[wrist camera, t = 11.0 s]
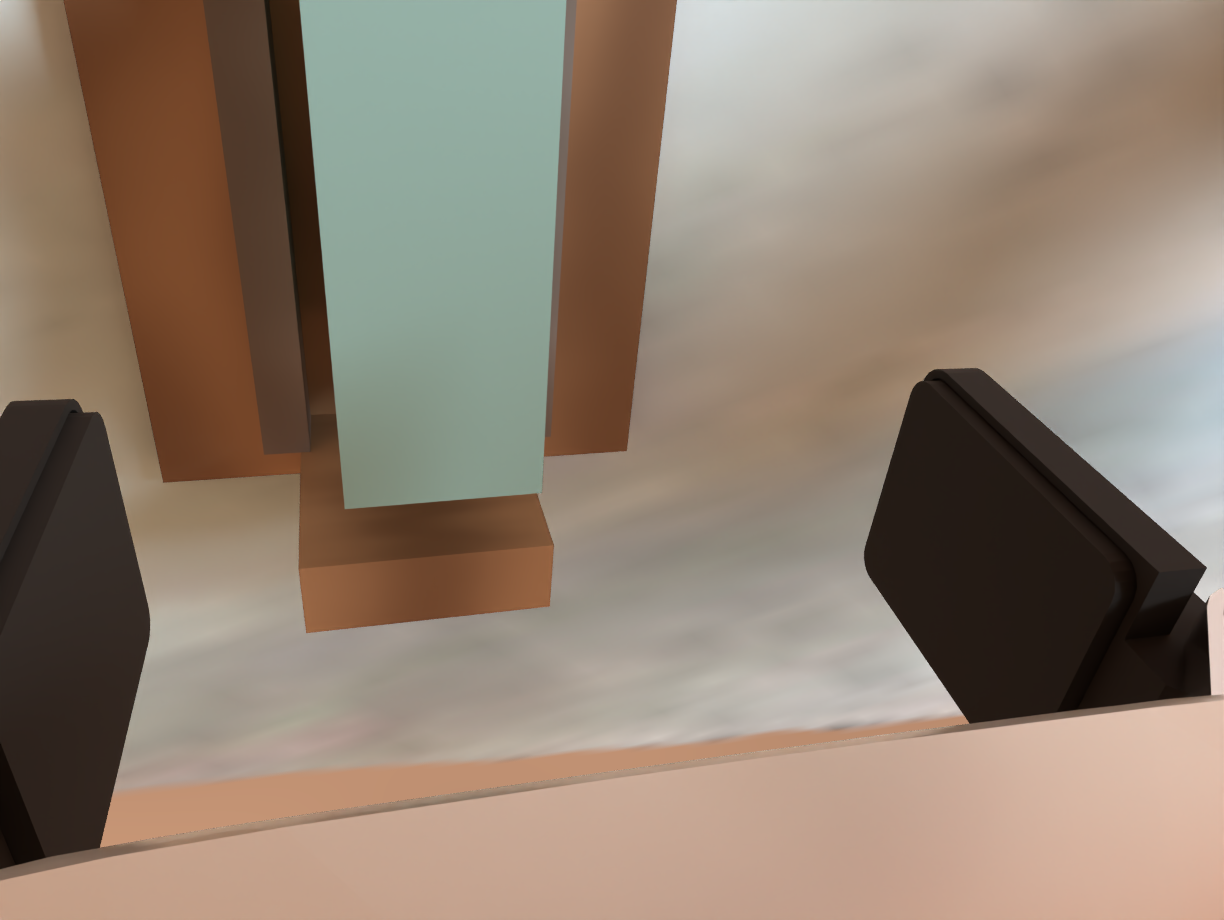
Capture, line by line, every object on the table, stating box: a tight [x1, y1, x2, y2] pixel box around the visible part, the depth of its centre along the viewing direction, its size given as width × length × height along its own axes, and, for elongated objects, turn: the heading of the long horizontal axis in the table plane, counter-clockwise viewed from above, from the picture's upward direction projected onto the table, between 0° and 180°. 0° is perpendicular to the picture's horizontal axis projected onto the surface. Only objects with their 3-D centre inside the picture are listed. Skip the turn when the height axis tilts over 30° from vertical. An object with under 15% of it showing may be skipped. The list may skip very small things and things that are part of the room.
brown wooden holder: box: [64, 0, 677, 633], centre depth 21 cm, size 14×20×8 cm
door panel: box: [299, 0, 566, 509], centre depth 20 cm, size 4×10×9 cm, turn 175°
